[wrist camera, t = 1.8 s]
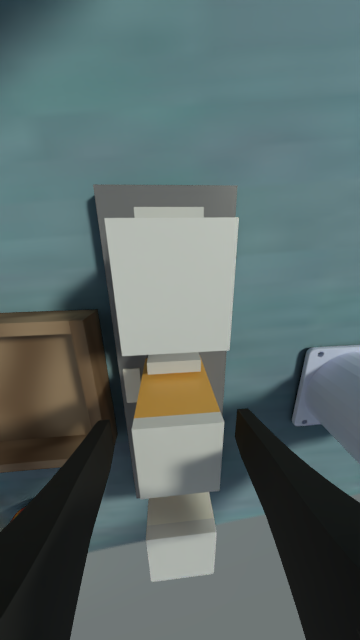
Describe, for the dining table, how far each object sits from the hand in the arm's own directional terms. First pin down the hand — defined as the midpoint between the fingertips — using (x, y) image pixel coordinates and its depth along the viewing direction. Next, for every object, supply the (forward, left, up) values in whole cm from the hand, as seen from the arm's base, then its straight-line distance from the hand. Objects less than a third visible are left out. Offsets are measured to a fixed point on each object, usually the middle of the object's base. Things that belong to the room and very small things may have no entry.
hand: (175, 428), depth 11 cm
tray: (+11, 0, -5) cm, 12 cm away
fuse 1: (0, -8, -4) cm, 9 cm away
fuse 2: (0, +8, -4) cm, 9 cm away
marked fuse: (0, 0, -4) cm, 4 cm away
